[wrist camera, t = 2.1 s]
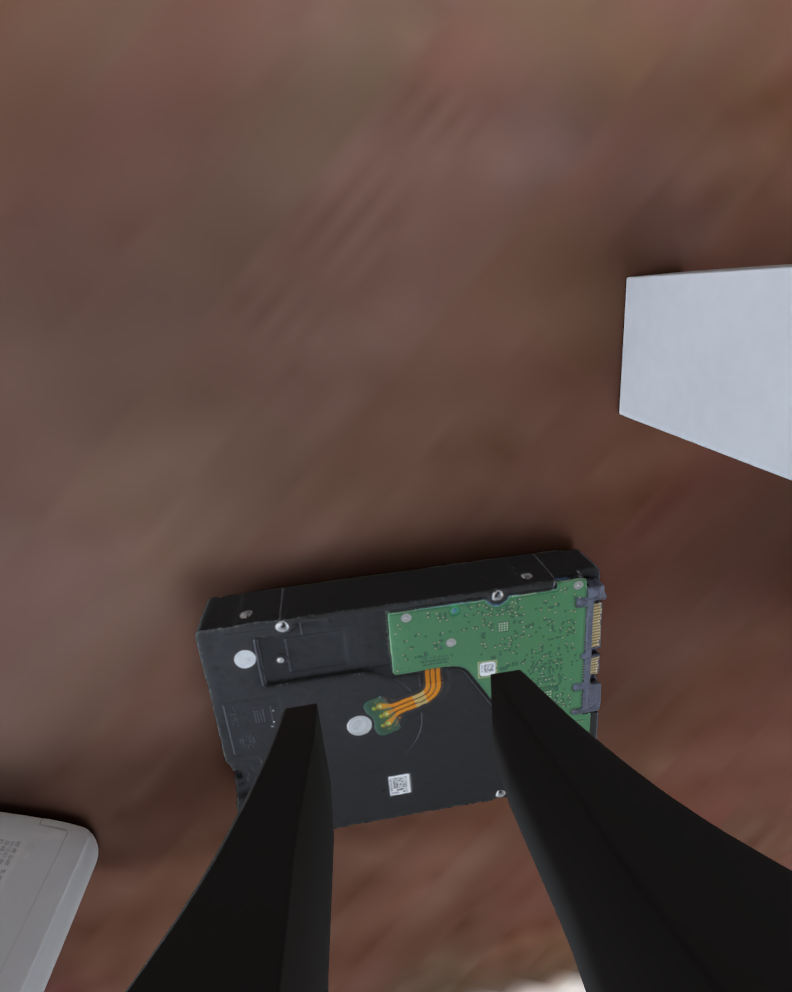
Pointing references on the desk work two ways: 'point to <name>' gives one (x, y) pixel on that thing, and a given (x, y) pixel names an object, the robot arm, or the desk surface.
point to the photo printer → (39, 894)
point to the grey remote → (713, 360)
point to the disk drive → (403, 672)
